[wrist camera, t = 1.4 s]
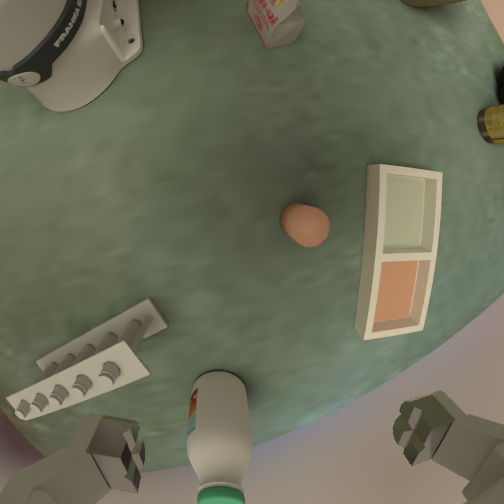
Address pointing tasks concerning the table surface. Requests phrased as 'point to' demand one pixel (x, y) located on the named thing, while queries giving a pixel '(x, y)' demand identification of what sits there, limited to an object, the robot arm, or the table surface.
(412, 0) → the plant pot
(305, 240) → the brown egg
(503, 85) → the squash
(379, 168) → the sorting tray
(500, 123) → the sauce bottle
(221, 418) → the milk bottle
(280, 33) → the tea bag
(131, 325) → the test tube rack
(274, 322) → the table surface
